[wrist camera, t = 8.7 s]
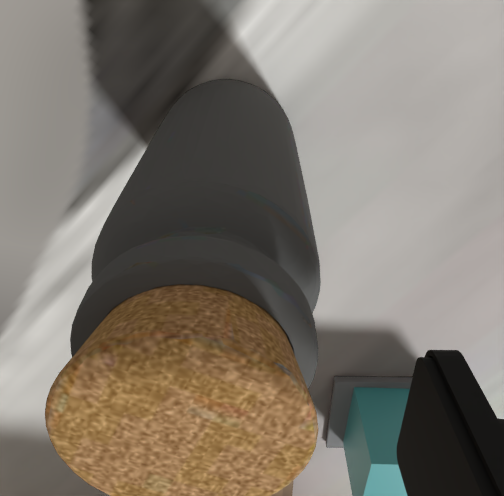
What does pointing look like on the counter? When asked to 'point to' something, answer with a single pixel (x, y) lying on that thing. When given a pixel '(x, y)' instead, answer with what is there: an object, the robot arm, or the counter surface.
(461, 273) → the counter surface
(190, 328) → the bottle
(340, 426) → the mat
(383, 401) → the cube
